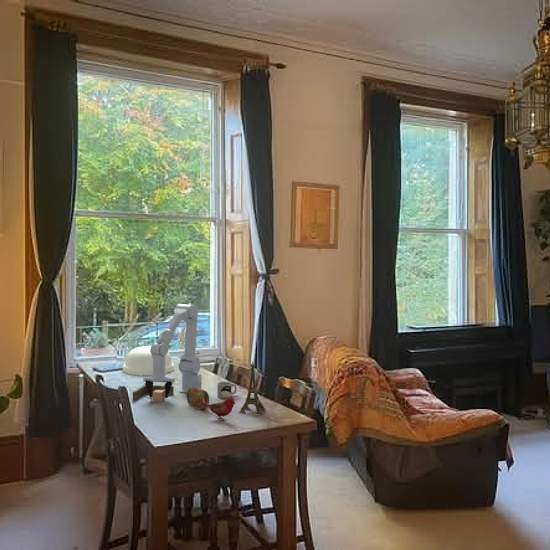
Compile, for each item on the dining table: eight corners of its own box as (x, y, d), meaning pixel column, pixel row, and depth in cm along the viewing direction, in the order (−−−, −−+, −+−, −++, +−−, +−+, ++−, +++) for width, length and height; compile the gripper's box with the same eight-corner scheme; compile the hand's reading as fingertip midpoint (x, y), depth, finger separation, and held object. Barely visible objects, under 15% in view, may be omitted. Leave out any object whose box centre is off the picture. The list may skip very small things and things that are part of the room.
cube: (165, 399, 263) (165, 390, 263) (161, 402, 258) (161, 392, 258) (155, 399, 263) (155, 389, 263) (152, 401, 259) (152, 392, 259)
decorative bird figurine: (233, 423, 226) (234, 399, 226) (198, 417, 235) (198, 393, 235) (237, 421, 229) (237, 397, 229) (202, 415, 237) (202, 392, 237)
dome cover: (132, 364, 347) (132, 342, 346) (179, 365, 345) (179, 343, 345) (114, 375, 315) (114, 350, 314) (167, 376, 313) (167, 352, 313)
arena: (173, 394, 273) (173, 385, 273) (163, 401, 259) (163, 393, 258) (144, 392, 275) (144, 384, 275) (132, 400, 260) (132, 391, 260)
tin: (186, 404, 255) (186, 386, 255) (192, 403, 257) (192, 385, 257) (204, 411, 244) (204, 392, 243) (210, 410, 246) (210, 391, 245)
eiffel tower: (238, 413, 241) (238, 356, 240) (242, 407, 251) (243, 352, 250) (262, 415, 239) (262, 357, 239) (265, 408, 250) (266, 353, 249)
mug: (221, 399, 265) (221, 385, 264) (215, 396, 270) (215, 382, 270) (239, 396, 270) (239, 383, 270) (233, 393, 276) (233, 380, 275)
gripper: (141, 369, 257) (140, 398, 258) (171, 370, 256) (171, 400, 256) (146, 366, 264) (146, 395, 265) (176, 367, 263) (175, 396, 263)
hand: (158, 397), depth 261 cm, fingers open, 7 cm apart
